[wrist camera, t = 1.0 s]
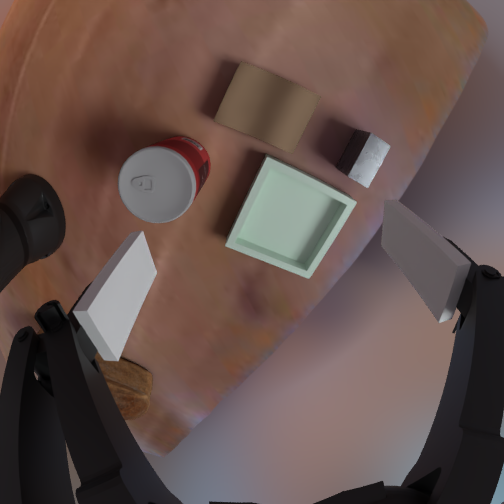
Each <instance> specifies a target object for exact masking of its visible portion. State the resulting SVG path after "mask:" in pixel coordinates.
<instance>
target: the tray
mask: <svg viewBox="0 0 504 504" xmlns="http://www.w3.org/2000/svg"><path fill="white" fill-rule="evenodd" d="M356 203H357V202H356V201H355V200H354V199H353V198H352V197H351V196H349V195H348V194H346V193H344V192H342V191H340V190H339V189H337V188H335V187H333V186H331V185H329V184H327V183H325V182H324V181H322V180H320V179H318V178H316V177H314V176H312V175H310V174H308V173H306V172H304V171H302V170H300V169H298V168H296V167H294V166H292V165H290V164H287V163H285V162H283V161H281V160H279V159H277V158H275V157H272V156H270V155H268V154H266V155H265V157H264V159H263V161H262V163H261V165H260V167H259V169H258V172H257V174H256V176H255V178H254V180H253V182H252V184H251V186H250V188H249V190H248V193H247V195H246V197H245V199H244V201H243V203H242V205H241V208H240V210H239V212H238V214H237V216H236V218H235V221H234V223H233V225H232V227H231V229H230V231H229V234H228V236H227V238H226V244H225V246H226V247H229V248H231V249H234V250H237V251H239V252H242V253H244V254H247V255H249V256H252V257H254V258H257V259H260V260H262V261H265V262H267V263H270V264H272V265H275V266H277V267H280V268H283V269H285V270H288V271H290V272H293V273H295V274H298V275H301V276H303V277H306V278H308V279H309V278H310V277H311V275H312V274H313V272H314V271H315V269H316V268H317V266H318V265H319V263H320V261H321V260H322V258H323V257H324V255H325V254H326V252H327V250H328V249H329V247H330V246H331V244H332V243H333V241H334V239H335V238H336V236H337V235H338V233H339V231H340V230H341V228H342V226H343V225H344V223H345V221H346V220H347V218H348V216H349V215H350V213H351V211H352V210H353V208H354V206H355V205H356Z"/></svg>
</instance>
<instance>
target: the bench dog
mask: <svg viewBox="0 0 504 504" xmlns="http://www.w3.org/2000/svg"><path fill="white" fill-rule="evenodd" d="M389 148H390V145H388V144H387V143H385V142H384V141H382V140H381V139H380V138H378V137H377V136H375V135H374V134H372V133H370V132H365V131H361V130H357V129H356V130H355V132H354V134H353V136H352V138H351V140H350V142H349V144H348V146H347V147H346V149H345V151H344V153H343V155H342V157H341V159H340V161H339V162H338V164H337V166H336V168H337V169H339V170H340V171H341V172H343V173H344V174H345V175H347V176H348V177H350V178H352V179H353V180H355V181H357V182H358V183H360V184H362V185H363V186H365V187H367V188H368V187H369V185H370V183H371V181H372V179H373V178H374V176H375V174H376V172H377V170H378V169H379V167H380V165H381V163H382V161H383V159H384V158H385V156H386V154H387V152H388V150H389Z"/></svg>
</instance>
